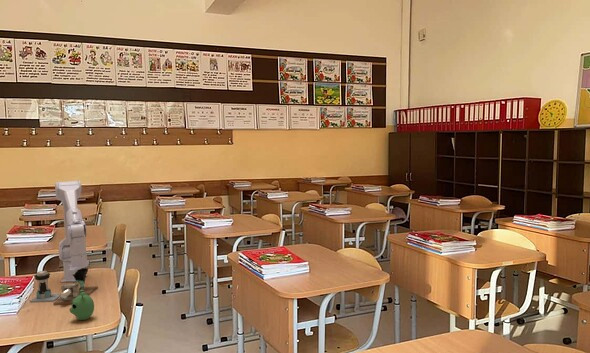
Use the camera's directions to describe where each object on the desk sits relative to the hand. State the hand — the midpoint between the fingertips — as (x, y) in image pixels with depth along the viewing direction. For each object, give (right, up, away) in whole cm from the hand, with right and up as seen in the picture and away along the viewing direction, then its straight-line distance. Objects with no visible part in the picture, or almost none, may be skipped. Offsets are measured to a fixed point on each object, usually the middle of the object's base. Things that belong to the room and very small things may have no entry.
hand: (80, 287), depth 193 cm
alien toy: (+13, -5, -29) cm, 32 cm away
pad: (-11, -3, -5) cm, 13 cm away
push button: (-11, -3, -5) cm, 13 cm away
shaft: (0, -1, -8) cm, 8 cm away
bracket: (0, -3, -4) cm, 5 cm away
